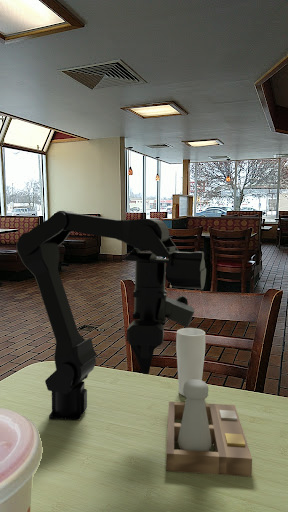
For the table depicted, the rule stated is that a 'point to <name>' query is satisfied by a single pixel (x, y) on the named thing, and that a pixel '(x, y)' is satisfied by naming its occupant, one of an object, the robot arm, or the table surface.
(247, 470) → the socket block
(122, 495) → the table surface
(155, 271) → the robot arm
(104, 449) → the table surface
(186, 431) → the salt shaker
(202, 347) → the drinking glass
